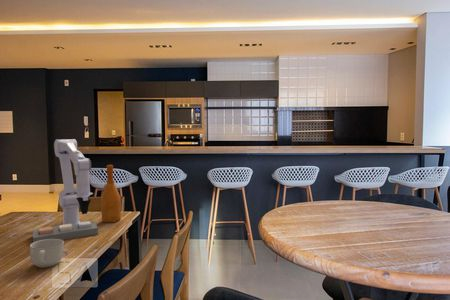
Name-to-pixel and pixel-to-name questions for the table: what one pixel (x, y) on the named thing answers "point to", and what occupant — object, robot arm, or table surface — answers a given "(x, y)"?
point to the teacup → (46, 252)
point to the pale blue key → (84, 224)
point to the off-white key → (65, 227)
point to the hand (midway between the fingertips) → (84, 212)
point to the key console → (66, 233)
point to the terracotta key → (45, 230)
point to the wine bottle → (110, 199)
